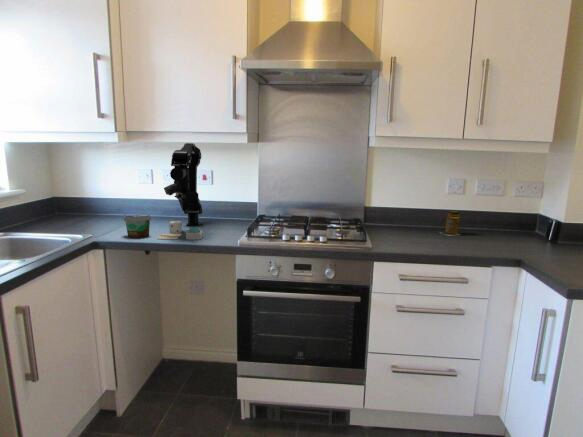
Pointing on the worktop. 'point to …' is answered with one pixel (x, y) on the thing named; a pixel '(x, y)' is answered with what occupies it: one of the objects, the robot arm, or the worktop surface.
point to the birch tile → (169, 236)
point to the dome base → (194, 235)
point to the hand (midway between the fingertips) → (183, 210)
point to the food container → (137, 226)
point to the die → (175, 226)
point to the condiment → (452, 224)
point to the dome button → (194, 230)
